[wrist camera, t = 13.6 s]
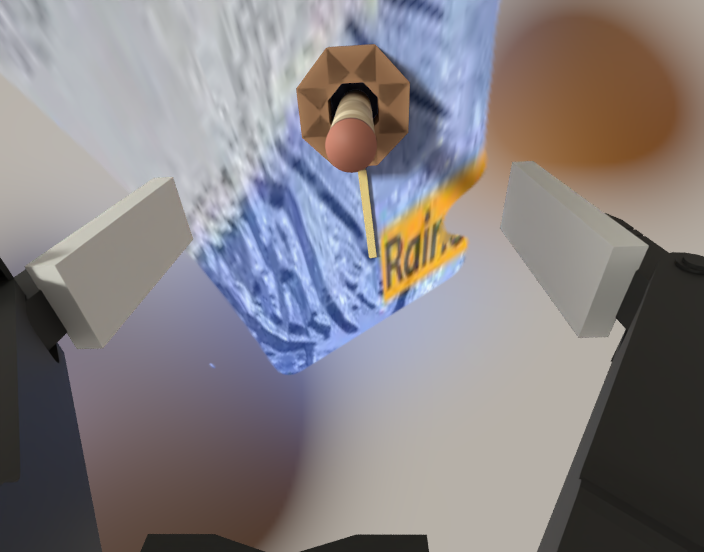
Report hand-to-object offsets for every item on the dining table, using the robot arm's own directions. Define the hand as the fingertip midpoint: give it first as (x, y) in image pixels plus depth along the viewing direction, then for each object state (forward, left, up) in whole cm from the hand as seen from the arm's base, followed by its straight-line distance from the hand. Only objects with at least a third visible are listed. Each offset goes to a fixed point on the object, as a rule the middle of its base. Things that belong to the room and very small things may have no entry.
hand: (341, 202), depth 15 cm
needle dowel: (0, 0, -26) cm, 26 cm away
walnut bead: (0, 0, -26) cm, 26 cm away
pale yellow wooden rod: (+1, -12, -26) cm, 29 cm away
